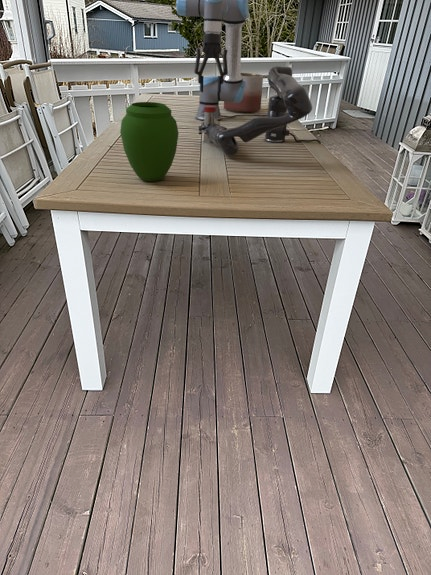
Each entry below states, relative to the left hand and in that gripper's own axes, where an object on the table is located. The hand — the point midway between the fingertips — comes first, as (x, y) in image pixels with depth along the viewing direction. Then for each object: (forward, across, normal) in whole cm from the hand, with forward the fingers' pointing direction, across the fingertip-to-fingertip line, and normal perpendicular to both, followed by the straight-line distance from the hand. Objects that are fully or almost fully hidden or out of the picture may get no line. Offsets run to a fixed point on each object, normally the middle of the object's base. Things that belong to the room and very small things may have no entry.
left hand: (210, 91), depth 187 cm
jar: (+22, 0, 0) cm, 22 cm away
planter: (+22, -46, -89) cm, 103 cm away
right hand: (+16, 0, -3) cm, 16 cm away
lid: (+7, 0, 0) cm, 7 cm away
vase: (+22, +34, +54) cm, 68 cm away
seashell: (+22, -6, -20) cm, 31 cm away
